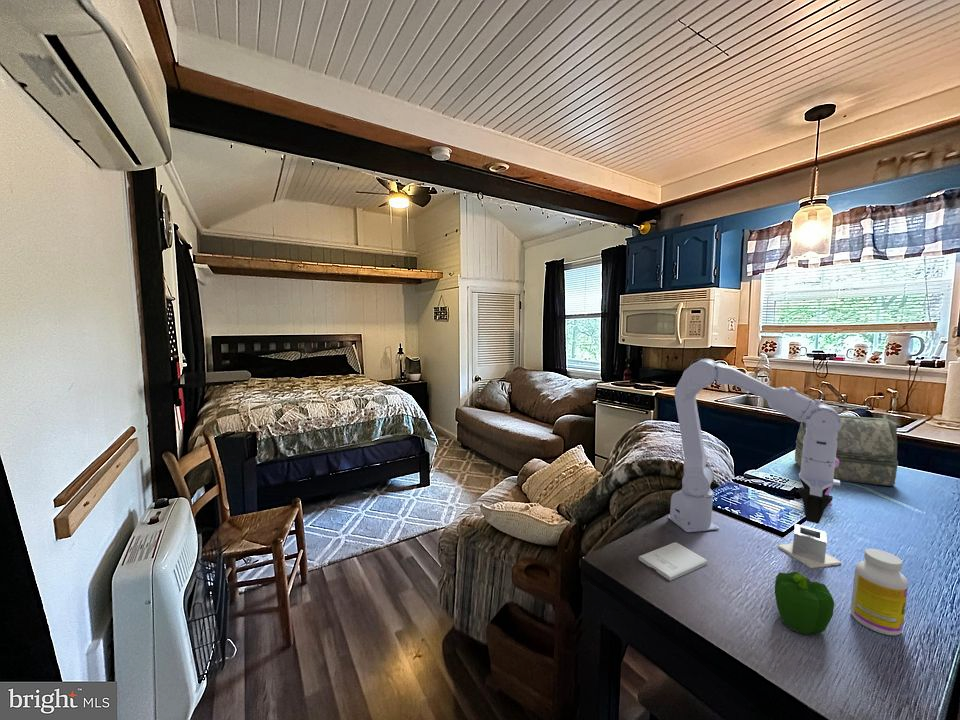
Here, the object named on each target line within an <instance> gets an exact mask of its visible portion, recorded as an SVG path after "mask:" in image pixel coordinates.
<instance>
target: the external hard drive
mask: <svg viewBox="0 0 960 720" xmlns="http://www.w3.org/2000/svg"><path fill="white" fill-rule="evenodd" d="M638 561H640V562H642V563H643V564H644V565H646V566H648V567H649V568H651V569H653V570H655V572H656V573H658V574H660V576H662V577H664V578H665V579H667V580H668V581H670V582H671V581H673V580H676V579H678V578H680V577H682V576H684V575H687V574H689V573H691V572H693V571H696V570H697V569H701V568H702V567H705V566H707V565H708V560H707V559H706V558H704V557H703V556H701V555H699V554H698V553H695V552H694V551H692V550H690V549H689V548H687V547H685V546H684V545H682V544H681V543H678V542H676V541H675V542H673V543H669V544H668V545H664V546H661V547H659V548H657V549H654V550H652V551H649V552H646V553H644V554H642V555H639V556H638Z"/></svg>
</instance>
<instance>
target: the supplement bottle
mask: <svg viewBox="0 0 960 720" xmlns="http://www.w3.org/2000/svg"><path fill="white" fill-rule="evenodd" d="M863 557H864V560H861V561H859V562H857V563H856V564H855V568H854V577H853V585H852V586H853V587H852V592H851V593H852V594H851V602H850V613H851V615H852V617H853V618H854V619H855V620H856V621H857V622H858V623H859V624H861V625H863V626H864V628H865V627H866V628H868V630H869V629H870V630H871V631H874V632H877V633H880V634H882V635H887V636H898V635H901V634H902V632H903V627H904V621H905V613H906V612H905V611H906V605H907V597H908V595H907V594H908V588H909V581H908V579H907V578H906V576H905V575H904V574H903V573H901V572H900V571H901V570H902V569H903V560H902V559H901V558H900V557H898V556H897V555H894V554H893V553H890V552H887V551H884V550H881V549H877V548H866V549H865V550H864V555H863Z"/></svg>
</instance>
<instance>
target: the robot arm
mask: <svg viewBox="0 0 960 720" xmlns="http://www.w3.org/2000/svg"><path fill="white" fill-rule="evenodd" d="M715 381H716V385H733V386H735V387H738V388H740V389H742V390H744V391H746V392H749V393H751V394H753V395H755V396H757V397H760V398H762V399H764V400H766V402H767V404H768V407H769V408H771V409H772V410H774V411H776V412H778V413H781V415H785V416H787V417H789V418H791V419H793V420H795V421H796V422H798V423H801V422H805V423H806V424H807V425H806V434H805V436H804V441H803V451H802V461H801V468H800V472H799V473H798V477H799V480H800V482H801V485H802V487H804V488H802V487H800V486H799V487H798V493H799V495H800V497H801V499H802V500H801V501H802V502H803V507H804V516H805V520H806V522H808V523H809V522H810V523H813V524H816V525H817V524H820V522H821V520H822V517H823V514H824V512H825V509H826V508H827V507H828V506H829V505H828V504H829V503H830V502H831V503H832V501H833V499H834V498H833V495H830V494H829V495H825V493H826V491H827V490H828V488H829V487H830V486H832V485H833V486H841V480H836V479H833V478H834V469H835V460H836V451H837V440H836V439H837V437H838V433H837V432H838V431H839V430H840V429H841V427H842V423H841V419H840V417H839V415H840V414H839V413H838V412H837V411H836V410H835V408H833V407H832V406H830V405H828V404H827V403H825V402H824V403H823V402H821V400H819V399H817V398H815V399H814V400H813V399H811V398H809V397H807V396H805V395H804V394H801V393H799V392H798V390H797V389H796V388H795V387H793V386H789V388H788V387H786V386H780V387H772V386H770V385H769V384H766V383H765V382H762V381H760V380H758V379H756V378H755V377H752V376H751V375H749V374H746V373H745V372H742V371H741V370H738V369H737V368H734V367H732V366H730V365H727V364H726V363H722V362H716V361H715V360H714V359H713V358H712V359H711V358H701V359H699V360H698V361H695V362H693V363H692V364H690V366H688V367H687V368H686V369H685V370H684V371H683V373H682V376H681V377H680V379H679V381H678V383H677V385H676V387H675V388H674V393H673V395H674V399H675V407H676V412H677V413H676V414H677V419H678V423H679V424H678V425H679V430H680V437H681V442H682V443H681V444H682V449H683V457H684V459H683V477H682V479H681V485H682V487H681V489H680V490H678V491H676V492H674V493H672V494H671V496H670V508H669V509H670V510H669V511H670V512H669V515H668V516H667V518H668V519H669V520H670V521H672V522H673V523H674V524H676V525H677V526H678V527H679V528H681V529H682V530H683V531H684V532H686V533H695V532H696V533H697V532H704V531H714V530H716V531H717V530H719V529H720V527H719V526H718V525H716V524H715V523H713V522H712V515H713V514H712V513H713V501H714V498H713V497H714V491H713V490H712V489H711V484H712V482H713V481H714V479H715V473H714V471H713V468H712V467H711V466H710V464H709V462H708V457H707V455H706V453H705V446H704V440H703V435H702V428H701V421H700V417H699V411H698V410H699V409H698V403H697V395H698V393H700V392H701V390H703V389H704V388H706V387H708V386H710V385H711V384H713V383H714V382H715Z"/></svg>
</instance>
